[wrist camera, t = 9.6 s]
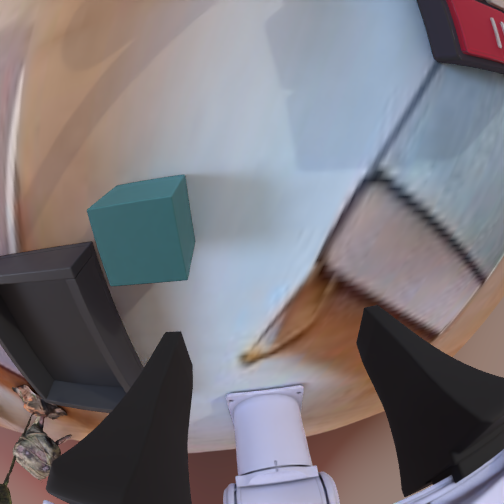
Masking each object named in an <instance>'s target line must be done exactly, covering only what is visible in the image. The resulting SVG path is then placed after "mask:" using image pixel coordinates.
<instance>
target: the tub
mask: <svg viewBox="0 0 504 504" xmlns="http://www.w3.org/2000/svg"><path fill="white" fill-rule="evenodd" d="M0 344H1V346H2V347H3V349H4V350H5V352H6V353H7V355H8V356H9V357H10V359H11V360H12V362H13V363H14V364H15V366H16V367H17V368H18V370H19V371H20V372H21V374H22V375H23V376H24V377H25V379H26V380H27V381H28V382H29V384H30V385H31V386H32V387H33V388H34V390H35V391H36V392H37V393H38V394H39V395H40V397H41V398H42V399H43V400H44V401H45V402H46V403H51V404H55V405H60V406H66V407H71V408H77V409H83V410H90V411H97V412H105V413H111V412H112V410H113V409H114V408H115V407H116V406H117V405H118V403H119V402H120V401H121V400H122V398H123V397H124V396H125V395H126V393H127V392H128V391H129V389H130V388H131V386H132V385H133V383H134V382H135V381H136V379H137V378H138V376H139V375H140V373H141V372H142V370H143V369H144V368H143V366H142V364H141V362H140V360H139V358H138V356H137V354H136V352H135V350H134V348H133V346H132V344H131V342H130V339H129V337H128V335H127V333H126V331H125V328H124V326H123V324H122V322H121V319H120V317H119V315H118V312H117V310H116V307H115V305H114V302H113V300H112V297H111V295H110V292H109V290H108V287H107V284H106V282H105V279H104V276H103V273H102V271H101V268H100V265H99V262H98V259H97V256H96V253H95V250H94V247H93V243H92V242H86V243H79V244H72V245H66V246H59V247H53V248H46V249H40V250H34V251H28V252H22V253H16V254H10V255H5V256H0Z"/></svg>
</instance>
